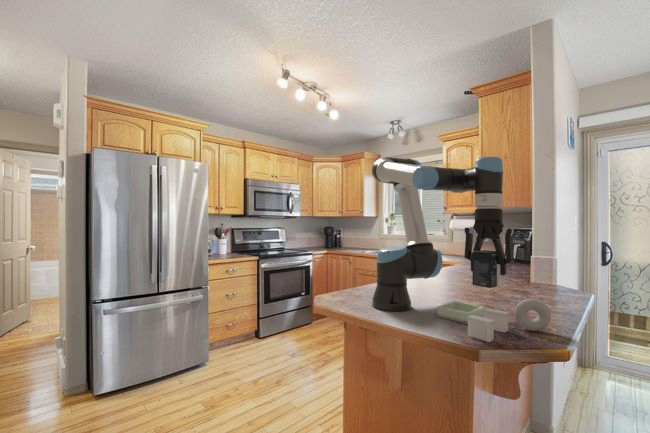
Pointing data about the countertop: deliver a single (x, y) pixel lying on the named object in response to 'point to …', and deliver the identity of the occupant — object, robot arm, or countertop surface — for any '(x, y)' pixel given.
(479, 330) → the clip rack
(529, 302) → the donut
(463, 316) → the tray
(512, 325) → the countertop surface
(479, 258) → the box
